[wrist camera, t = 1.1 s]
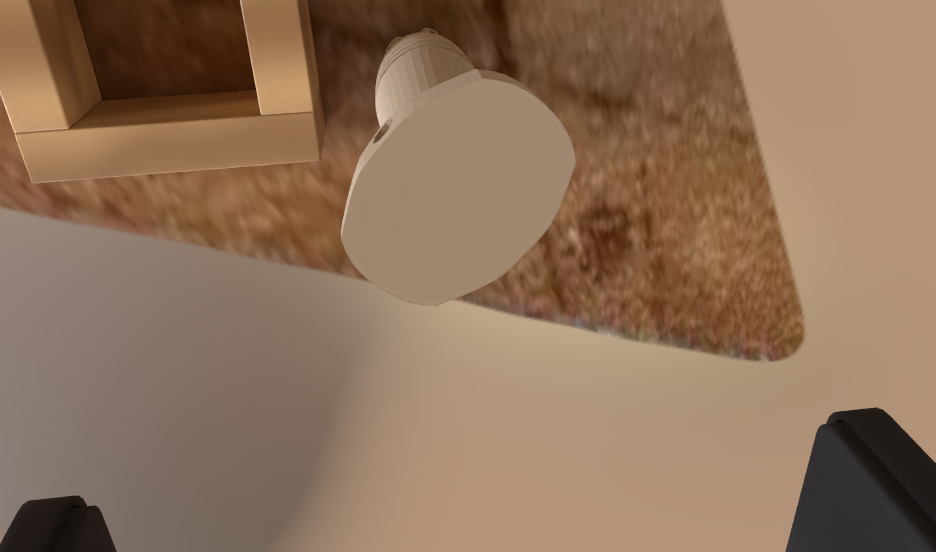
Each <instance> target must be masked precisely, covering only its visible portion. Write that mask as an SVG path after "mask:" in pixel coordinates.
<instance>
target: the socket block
mask: <svg viewBox="0 0 936 552" xmlns="http://www.w3.org/2000/svg"><path fill="white" fill-rule="evenodd" d="M240 3H241V8H242V14H243V19H244V25H245V30H246V36H247V41H248V47H249V52H250V58H251V63H252V69H253V74H254V80H255V85H256V90H247V91H233V92H219V93H205V94H191V95H176V96H162V97H148V98H134V99H120V100H105V101H101V100H102V97H101V94H100V90H99V87H98V83H97V80H96V76H95V73H94V69H93V66H92V62H91V59H90V55H89V52H88V48H87V45H86V42H85V38H84V35H83V31H82V28H81V24H80V21H79V17H78V14H77V10H76V7H75V3H74V0H0V94H1V97H2V99H3V102H4V105H5V108H6V111H7V114H8V116H9V119H10V122H11V125H12V128H13V130H14V132H15V137H16V140H17V142H18V145H19V148H20V151H21V154H22V156H23V159H24V162H25V165H26V168H27V171H28V173H29V176H30V179H31V182H32V183H45V182H57V181H70V180H83V179H95V178H108V177H120V176H133V175H146V174H158V173H171V172H183V171H196V170H209V169H221V168H234V167H246V166H259V165H272V164H284V163H297V162H310V161H320V160H321V155H322V148H323V142H324V136H325V122H324V114H323V107H322V100H321V93H320V87H319V78H318V71H317V64H316V57H315V49H314V42H313V35H312V28H311V21H310V14H309V6H308V0H240Z"/></svg>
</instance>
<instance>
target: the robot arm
mask: <svg viewBox="0 0 936 552" xmlns="http://www.w3.org/2000/svg"><path fill="white" fill-rule="evenodd" d="M0 552H116V549H115V546H114V544H113V541H112V538H111V536H110V533H109V531H108V528H107V526H106V523H105V520H104V518H103V515H102V513H101V511H100V509H99V508H98V507H97V506H87V505H86V503H85V501H84V499H83V498H81V497H80V496H68V497H58V498H49V499H40V500H31V501H27V502H26V503H25V504H23V505H22V506H21V508H20V509H19V511H18V512H17V514H16V516H15V518H14V520H13V521H12V523H11V525H10V527H9V529H8V531H7V532H6V534H5V536H4V538H3V540H2V542H1V544H0ZM786 552H936V463H935V462H934V461H933V460H932V459H931V458H930V457H929V456H928V455H927V454H926V453H925V452H924V451H923V450H922V449H921V447H920V446H919V445H918V444H917V443H916V442H915V441H914V440H913V439H912V438H911V437H910V436H909V435H908V434H907V433H906V432H905V431H904V430H903V429H902V428H901V427H900V426H899V425H898V424H897V423H896V422H895V421H894V420H893V418H892V417H891V416H890V415H888V414H887V413H886V412H885V411H884V410H882V409H879V408H867V409H858V410H849V411H840V412H834V413H833V414H831V415H830V416H829V418H828V421H827V423H826V424H823V425H821V426H820V427H819V428H818V430H817V433H816V437H815V441H814V445H813V448H812V452H811V456H810V460H809V464H808V467H807V471H806V475H805V479H804V483H803V487H802V491H801V494H800V498H799V502H798V506H797V510H796V514H795V518H794V521H793V525H792V529H791V533H790V537H789V541H788V544H787V548H786Z"/></svg>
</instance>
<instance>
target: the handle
mask: <svg viewBox="0 0 936 552" xmlns="http://www.w3.org/2000/svg"><path fill="white" fill-rule="evenodd" d="M385 52H386V54H385V56H384V58H383V60H382V62H381V65H380V68H379V71H378V75H377V81H376V88H375V101H376V112H377V117H378V121H379V124H380V129H379V130H378V132H377V133H376V134H375V136H374V137H373V139H372V140H371V141H370V143H369V144H368V146H367V147H366V149H365V150H364V152H363V153H362V155H361V156H360V158H359V161H358V164H357V167H356V170H355V173H354V176H353V180H352V184H351V188H350V191H349V195H348V200H347V204H346V208H345V213H344V218H343V222H342V230H341V240H342V243H343V245H344V248H345V251H346V252H347V254H348V256H349V258H350V260H351V262H352V263H353V265H354V266H355V267H356V268H357V269H358V270H359V271H360V272H361V274H362V275H363V276H364V277H366V278H367V279H368V280H369V281H371V282H372V283H373V284H374V285H375V286H377V287H378V288H380V289H382V290H383V291H385V292H387V293H388V294H390V295H392V296H394V297H396V298H399V299H401V300H404V301H406V302H409V303H415V304H420V305H430V306H438V305H440V304H443V303H445V302H448V301H450V300H453V299H455V298H458V297H460V296H463V295H465V294H467V293H470V292H472V291H474V290H477V289H479V288H481V287H483V286H485V285H487V284H489V283H491V282H492V281H494V280H496V279H498V278H499V277H500V276H501V275H503V274H504V273H505V272H506V271H507V270H509V269H510V268H511V267H512V266H513V265H514V264H515V263H516V262H517V261H518V260H519V259H520V258H521V257H522V256H523V255H524V254H525V253H526V252H527V251H528V250H529V249H530V248H531V247H532V246H533V245H534V244H535V243H536V242H537V241H538V240H539V239H540V237H541V236H542V235H543V234H544V233H545V231H546V230H547V229H548V228H549V226H550V224H551V223H552V221H553V219H554V217H555V215H556V213H557V211H558V209H559V207H560V204H561V202H562V199H563V197H564V194H565V192H566V189H567V186H568V183H569V181H570V178H571V175H572V173H573V170H574V167H575V164H576V161H575V155H574V149H573V146H572V143H571V140H570V137H569V135H568V133H567V132H566V130H565V128H564V127H563V125H562V124H561V122H560V120H559V119H558V118H557V116H556V115H555V114H554V113H553V112H552V110H551V109H550V108H549V107H548V106H547V105H546V104H545V103H544V102H543V100H542V99H541V98H540V97H539V96H538V95H536V94H535V93H534V92H533V91H531V90H530V89H529V88H527V87H526V86H525V85H524V84H522V83H520V82H519V81H517V80H515V79H513V78H511V77H509V76H507V75H505V74H501V73H497V72H494V71H489V70H481V69H475V68H474V66H473V64H472V63H471V61H470V60H469V58H468V57H467V56H466V55H465V54H464V52H463V51H462V50H461V49H460V48H459V47H458V46H456V45H455V44H454V43H453V42H451V41H450V40H448V39H446V38H444V37H442V36H440V35H438V33H437V32H436V31H435V30H433V29H430V28H423V29H422V30H421V31H420V32H417V33H412V34H409V35H406V36H404V37H399V36H397V37H395V38H394V39H393V40H391V41H390V43H389V44H388V46H387V48H386V51H385Z"/></svg>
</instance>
